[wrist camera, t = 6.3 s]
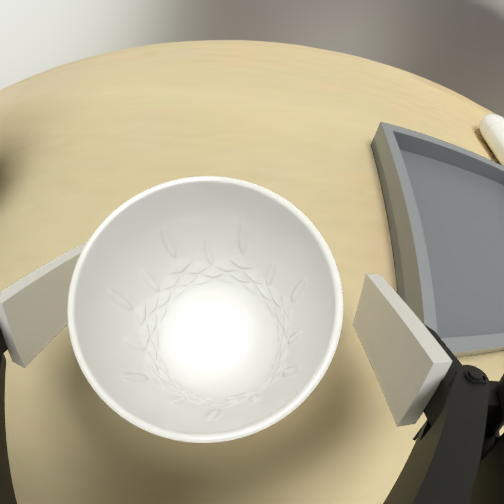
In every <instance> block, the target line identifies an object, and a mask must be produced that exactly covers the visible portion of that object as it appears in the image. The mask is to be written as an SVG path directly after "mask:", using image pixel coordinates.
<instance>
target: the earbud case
mask: <svg viewBox="0 0 504 504" xmlns="http://www.w3.org/2000/svg"><path fill="white" fill-rule="evenodd" d="M479 129H480V132H481V135H482V137H483V138H484V140H485V142H486V143H487V144H488V146H489V147H490V149H491V151H492V152H493V154H494V155H495V157H496V158H497V160H498V161H499V163H500V164H501V165H502V166H504V117H501V116H499V115H496V114H486V115H485V116H484V117H483V118H482V120H481V121H480V124H479Z"/></svg>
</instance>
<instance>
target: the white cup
mask: <svg viewBox="0 0 504 504" xmlns="http://www.w3.org/2000/svg"><path fill="white" fill-rule="evenodd" d="M67 317H68V328H69V335H70V340H71V344H72V347H73V351H74V354H75V356H76V359H77V361H78V364H79V366H80V368H81V370H82V372H83V374H84V375H85V377H86V379H87V380H88V382H89V384H90V385H91V386H92V388H93V389H94V390H95V392H96V393H97V394H98V395H99V397H100V398H101V399H102V400H103V401H104V402H105V403H106V404H107V405H108V406H109V407H110V408H111V409H112V410H114V411H115V412H116V413H117V414H119V415H120V416H121V417H123V418H124V419H126V420H127V421H129V422H130V423H132V424H134V425H135V426H137V427H139V428H141V429H143V430H145V431H147V432H150V433H152V434H155V435H158V436H161V437H164V438H168V439H172V440H177V441H183V442H192V443H215V442H224V441H230V440H234V439H239V438H242V437H246V436H249V435H251V434H254V433H257V432H259V431H261V430H264V429H266V428H268V427H270V426H271V425H273V424H275V423H277V422H278V421H280V420H281V419H283V418H284V417H286V416H287V415H288V414H290V413H291V412H292V411H294V410H295V409H296V408H297V407H298V406H299V405H300V404H301V403H302V402H303V401H304V400H305V399H306V398H307V397H308V396H309V395H310V394H311V393H312V391H313V390H314V389H315V388H316V386H317V385H318V384H319V382H320V381H321V379H322V378H323V376H324V374H325V373H326V371H327V369H328V367H329V365H330V363H331V361H332V359H333V356H334V354H335V351H336V348H337V345H338V342H339V338H340V334H341V328H342V321H343V292H342V285H341V280H340V275H339V272H338V268H337V265H336V262H335V260H334V257H333V255H332V253H331V251H330V249H329V247H328V245H327V243H326V241H325V240H324V238H323V236H322V235H321V233H320V232H319V231H318V229H317V228H316V227H315V226H314V224H313V223H312V222H311V221H310V220H309V219H308V218H307V217H306V216H305V215H304V214H303V213H302V212H301V211H300V210H299V209H298V208H297V207H295V206H294V205H293V204H292V203H290V202H289V201H287V200H286V199H284V198H283V197H281V196H280V195H278V194H276V193H274V192H272V191H270V190H268V189H266V188H264V187H262V186H259V185H256V184H253V183H250V182H247V181H243V180H239V179H235V178H229V177H220V176H195V177H187V178H181V179H176V180H172V181H168V182H165V183H162V184H159V185H156V186H154V187H151V188H149V189H147V190H145V191H143V192H141V193H139V194H137V195H135V196H134V197H132V198H130V199H129V200H127V201H126V202H125V203H123V204H122V205H120V206H119V207H118V208H117V209H115V210H114V211H113V212H112V213H111V214H110V215H109V216H108V217H107V218H106V219H105V220H104V221H103V222H102V223H101V224H100V225H99V227H98V228H97V229H96V230H95V232H94V233H93V234H92V236H91V237H90V239H89V240H88V242H87V243H86V245H85V247H84V249H83V250H82V252H81V254H80V256H79V259H78V261H77V264H76V266H75V269H74V272H73V275H72V279H71V283H70V288H69V294H68V305H67Z"/></svg>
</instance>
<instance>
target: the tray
mask: <svg viewBox="0 0 504 504" xmlns="http://www.w3.org/2000/svg"><path fill="white" fill-rule="evenodd" d="M371 146H372V150H373V154H374V157H375V161H376V165H377V169H378V174H379V178H380V182H381V187H382V191H383V196H384V201H385V206H386V211H387V217H388V222H389V228H390V234H391V241H392V247H393V255H394V262H395V271H396V280H397V291H398V295H399V296H400V297H401V299H402V300H403V301H404V302H405V303H406V304H407V305H408V307H409V308H410V309H411V310H412V311H413V312H414V314H415V315H416V316H417V317H418V318H419V320H420V321H421V322H422V323H423V324H424V325H426V326H428V327H429V328H431V329H432V330H434V331H435V332H436V333H437V334H438V336H439V337H440V338H441V341H443V342H444V343H445V344H446V347H448V348H449V349H450V350H451V352H452V353H453V354H454V355H455V357H456V358H457V357H465V356H472V355H479V354H486V353H492V352H498V351H503V350H504V166H502V165H500V164H498V163H496V162H493V161H491V160H489V159H487V158H485V157H482V156H480V155H478V154H475V153H473V152H471V151H468V150H466V149H463V148H461V147H458V146H456V145H453V144H450V143H448V142H445V141H442V140H439V139H437V138H434V137H431V136H428V135H425V134H422V133H418V132H415V131H412V130H409V129H405V128H402V127H398V126H395V125H391V124H387V123H384V122H380V125H379V127H378V129H377V132H376V134H375V136H374V139H373V141H372V143H371Z"/></svg>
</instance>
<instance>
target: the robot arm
mask: <svg viewBox="0 0 504 504" xmlns="http://www.w3.org/2000/svg"><path fill="white" fill-rule="evenodd" d="M85 245H86V243H83V244H81V245H79V246H77V247H75V248H73V249H72V250H70V251H68V252H66V253H64V254H63V255H61V256H59V257H57V258H55V259H54V260H52V261H50V262H48V263H47V264H45V265H43V266H42V267H40V268H38V269H37V270H35V271H33V272H32V273H30V274H28V275H27V276H25V277H23V278H22V279H20V280H18V281H17V282H15V283H14V284H12V285H11V286H9V287H7V288H6V289H4V290H3V291H1V292H0V504H17V502H16V498H15V494H14V489H13V484H12V479H11V473H10V467H9V460H8V452H7V443H6V431H5V402H4V399H5V370H6V358H5V356H4V354H3V353H4V352H5V351H6V350H7V349H8V351H9V353H10V356H11V358H12V361H13V362H15V363H16V364H18V365H20V366H22V367H24V368H25V367H26V366H27V365H28V364H29V363H30V362H31V361H32V360H33V359H34V358H35V357H36V355H37V354H38V353H39V352H40V351H41V350H42V349H43V348H44V347H45V346H46V345H47V344H48V343H49V342H50V341H51V340H52V339H53V338H54V337H55V336H56V335H57V334H58V333H59V332H60V331H61V330H62V329H63V328H64V327H66V326H67V325H68V317H67V305H68V294H69V288H70V283H71V279H72V275H73V272H74V269H75V266H76V264H77V261H78V259H79V256H80V254H81V252H82V250H83V249H84V247H85ZM353 327H354V329H355V331H356V333H357V335H358V337H359V339H360V341H361V344H362V346H363V348H364V350H365V352H366V355H367V357H368V359H369V361H370V363H371V366H372V368H373V370H374V372H375V375H376V377H377V379H378V382H379V384H380V386H381V389H382V391H383V393H384V396H385V398H386V401H387V403H388V405H389V408H390V410H391V413H392V415H393V418H394V420H395V423H396V425H397V426H404V425H410V424H415V423H416V422H417V420H418V419H419V418H420V416H421V415H422V413H423V412H424V413H425V415H426V417H427V420H426V422H425V423H424V425H423V426H422V428H421V429H420V430H419V432H418V433H417V434H416V436H415V437H414V438H413V440H416V439H417V440H416V443H415V445H414V447H413V449H412V451H411V453H410V456H409V458H408V460H407V462H406V464H405V466H404V468H403V470H402V472H401V473H400V475H399V477H398V479H397V481H396V483H395V484H394V486H393V488H392V490H391V491H390V493H389V495H388V497H387V498H386V500H385V501H384V503H383V504H504V433H503V434H502V435H501V436H500V435H499V430H500V429H501V428H502V426H503V425H504V374H503V376H502V378H501V379H500V381H499V382H498V381H489V380H488V377H487V376H486V374H485V373H484V372H483V371H481V370H480V369H478V368H476V367H475V366H471V365H463V366H462V364H461V363H460V362H459V361H458V359H457V358H456V357H455V355H454V354H453V353H452V352H451V350H450V349H449V348H448V347H446V344H445V343H444V342H443V341H441V338H440V337H439V336H438V334H437V333H436V332H435V331H434V330H432V329H431V328H429V327H428V326H426V325H424V324H423V323H422V322H421V321H420V320H419V318H418V317H417V316H416V315H415V314H414V312H413V311H412V310H411V309H410V308H409V307H408V305H407V304H406V303H405V302H404V301H403V300H402V299H401V297H400V296H399V295H398V294H397V293H396V292H395V291H394V289H393V288H392V287H391V286H390V285H389V284H388V283H387V282H386V281H385V279H384V278H383V277H382V276H381V275H375V274H366V277H365V281H364V285H363V289H362V293H361V296H360V300H359V304H358V308H357V311H356V315H355V318H354V322H353Z"/></svg>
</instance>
